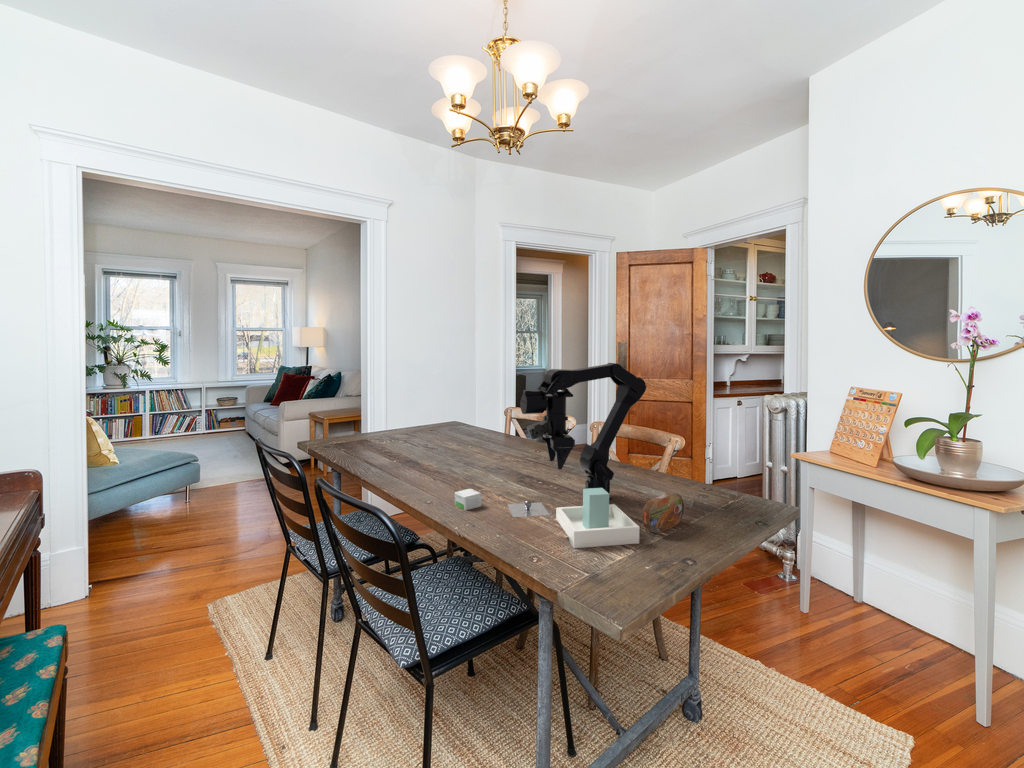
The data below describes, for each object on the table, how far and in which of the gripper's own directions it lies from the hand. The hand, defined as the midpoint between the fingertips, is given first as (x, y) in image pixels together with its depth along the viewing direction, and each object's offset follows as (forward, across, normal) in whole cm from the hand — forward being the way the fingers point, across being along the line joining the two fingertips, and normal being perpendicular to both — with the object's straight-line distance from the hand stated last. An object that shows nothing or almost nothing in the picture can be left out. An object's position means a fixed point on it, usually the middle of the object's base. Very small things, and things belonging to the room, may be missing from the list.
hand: (555, 464), depth 144 cm
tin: (+11, +24, +22) cm, 34 cm away
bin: (+11, +24, +4) cm, 27 cm away
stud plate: (+11, +8, -10) cm, 17 cm away
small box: (+11, +2, -26) cm, 28 cm away
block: (+10, +24, +4) cm, 26 cm away
